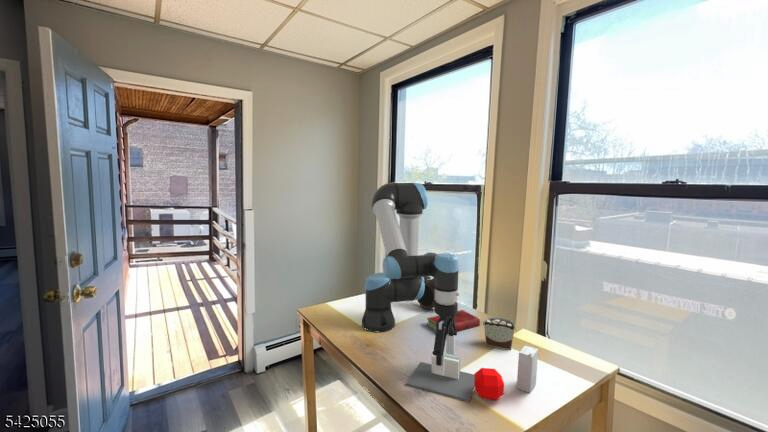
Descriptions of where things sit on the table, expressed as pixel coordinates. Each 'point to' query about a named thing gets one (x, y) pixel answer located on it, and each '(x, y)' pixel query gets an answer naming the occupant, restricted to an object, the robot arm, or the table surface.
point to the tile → (449, 366)
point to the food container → (499, 332)
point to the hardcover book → (458, 321)
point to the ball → (489, 384)
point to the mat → (442, 382)
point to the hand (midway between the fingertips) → (445, 363)
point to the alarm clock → (428, 294)
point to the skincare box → (527, 368)
